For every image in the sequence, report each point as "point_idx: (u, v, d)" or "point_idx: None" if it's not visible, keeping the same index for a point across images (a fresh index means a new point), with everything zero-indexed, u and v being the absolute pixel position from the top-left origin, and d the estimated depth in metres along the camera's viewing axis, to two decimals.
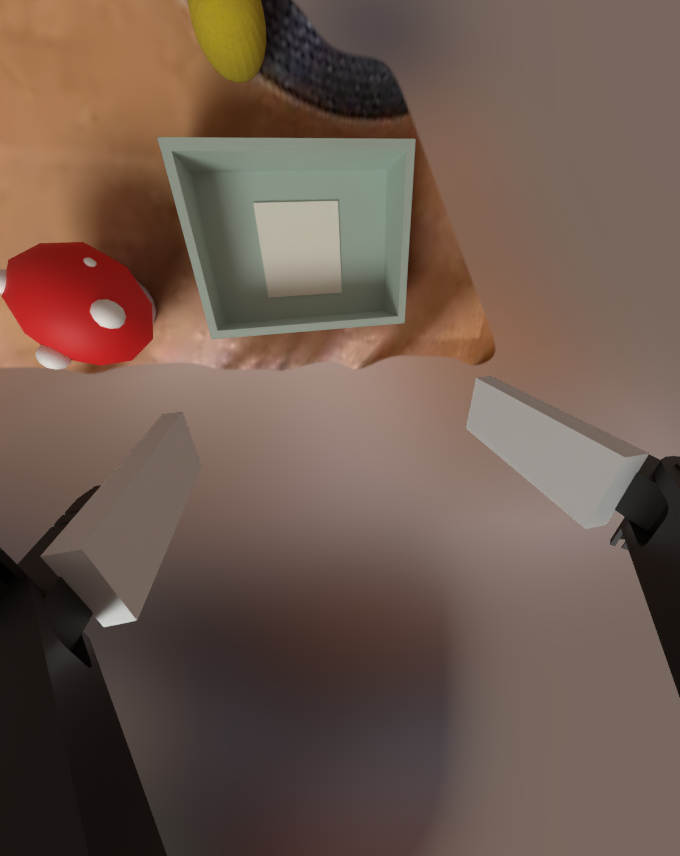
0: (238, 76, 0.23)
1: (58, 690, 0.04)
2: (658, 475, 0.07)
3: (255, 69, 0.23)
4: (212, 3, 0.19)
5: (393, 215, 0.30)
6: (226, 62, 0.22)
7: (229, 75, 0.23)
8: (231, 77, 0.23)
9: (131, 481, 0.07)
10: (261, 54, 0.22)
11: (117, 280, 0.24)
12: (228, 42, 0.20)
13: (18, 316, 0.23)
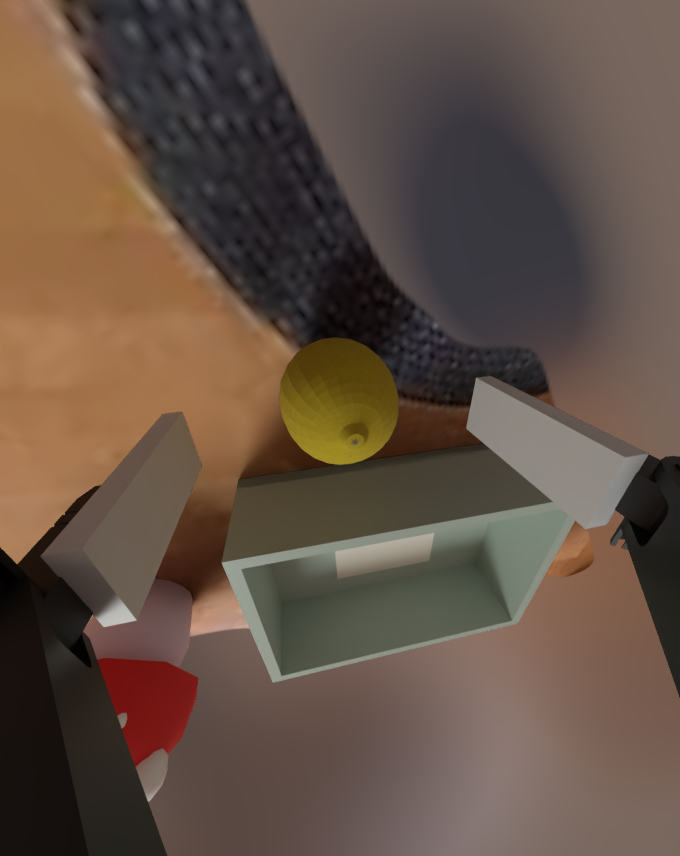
0: None
1: (58, 690, 0.04)
2: (658, 475, 0.07)
3: None
4: (333, 454, 0.11)
5: (519, 517, 0.22)
6: None
7: None
8: None
9: (131, 481, 0.07)
10: None
11: (156, 713, 0.17)
12: None
13: None
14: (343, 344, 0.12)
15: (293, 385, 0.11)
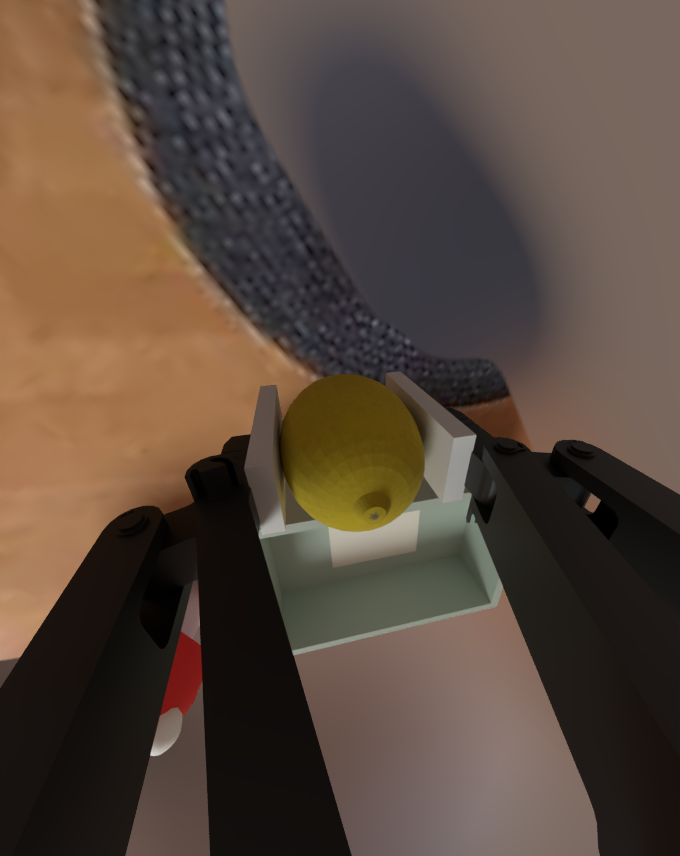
0: None
1: None
2: (482, 453, 0.08)
3: None
4: (346, 525, 0.09)
5: None
6: None
7: None
8: None
9: (273, 428, 0.10)
10: None
11: (173, 674, 0.19)
12: None
13: None
14: (357, 385, 0.10)
15: (296, 438, 0.09)
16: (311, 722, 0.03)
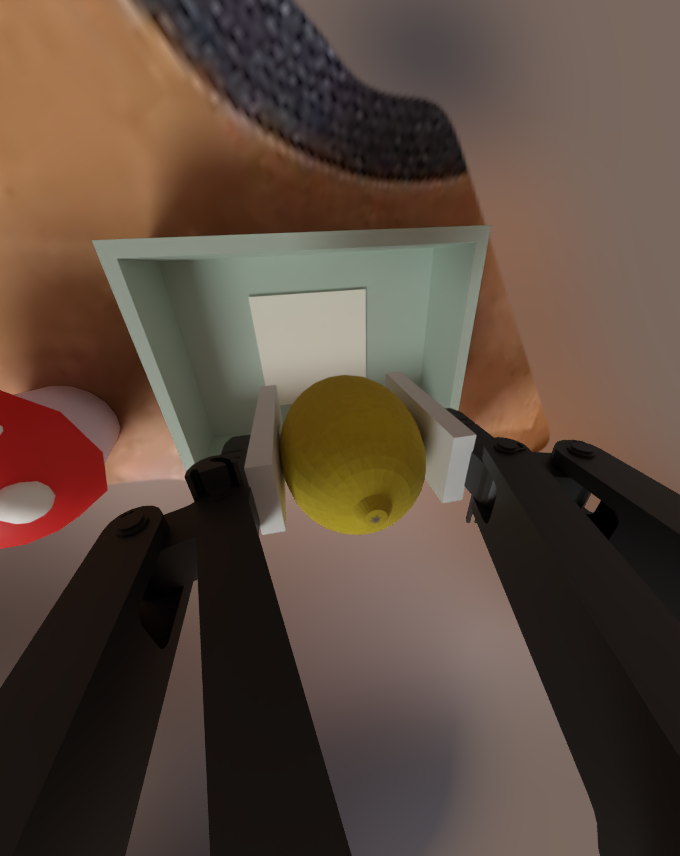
0: None
1: None
2: (481, 453, 0.08)
3: None
4: (347, 528, 0.09)
5: (442, 311, 0.21)
6: None
7: None
8: None
9: (273, 428, 0.10)
10: None
11: (40, 444, 0.16)
12: None
13: None
14: (357, 386, 0.10)
15: (296, 440, 0.09)
16: (311, 722, 0.03)
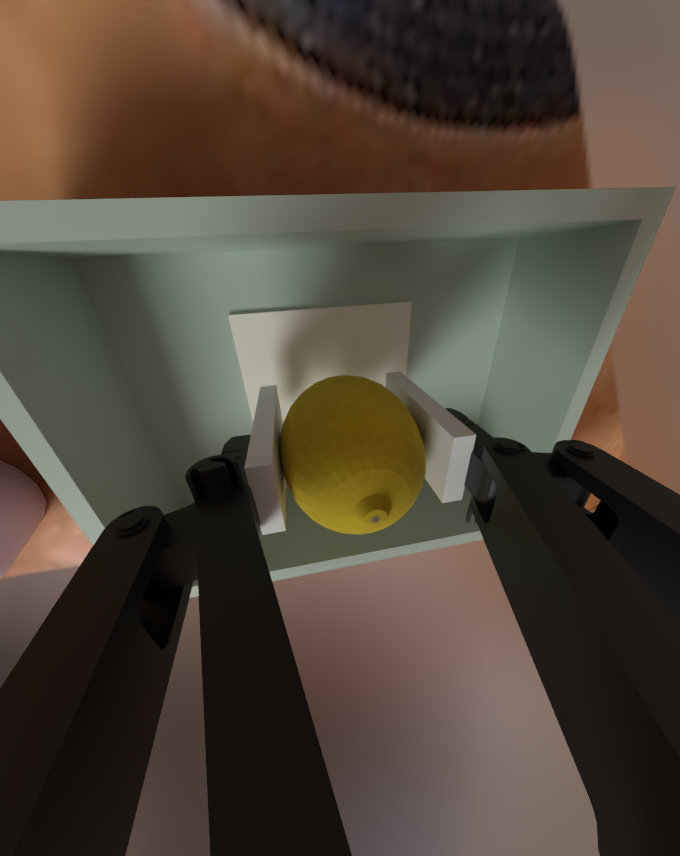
0: None
1: (268, 569, 0.05)
2: (481, 453, 0.08)
3: None
4: (347, 528, 0.09)
5: (534, 336, 0.14)
6: None
7: None
8: None
9: (273, 428, 0.10)
10: None
11: None
12: None
13: None
14: (357, 387, 0.10)
15: (295, 440, 0.09)
16: (311, 722, 0.03)
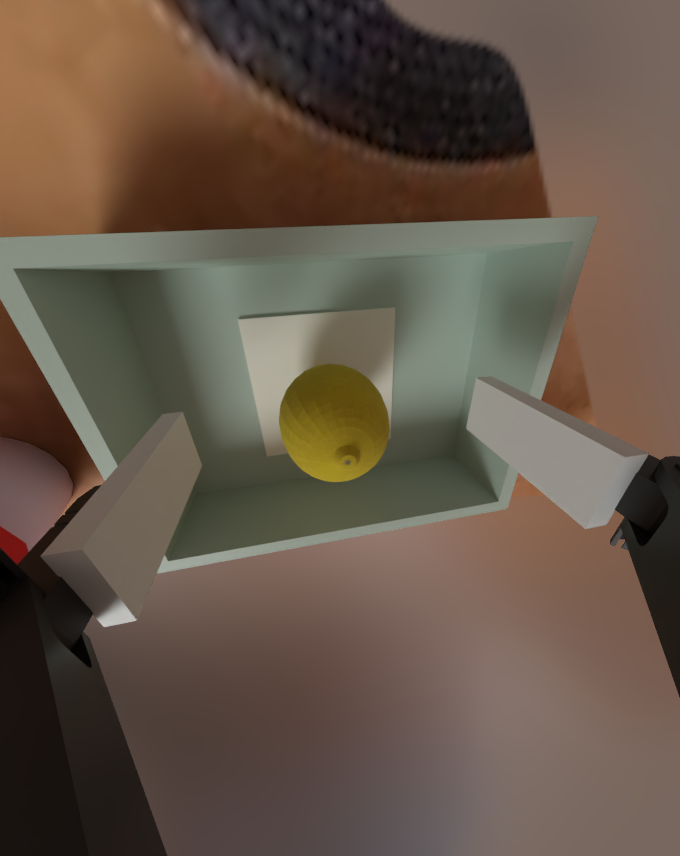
0: None
1: (58, 690, 0.04)
2: (658, 475, 0.07)
3: None
4: (329, 473, 0.12)
5: (500, 336, 0.16)
6: None
7: None
8: None
9: (131, 481, 0.07)
10: None
11: None
12: None
13: None
14: (336, 371, 0.13)
15: (290, 410, 0.12)
16: None
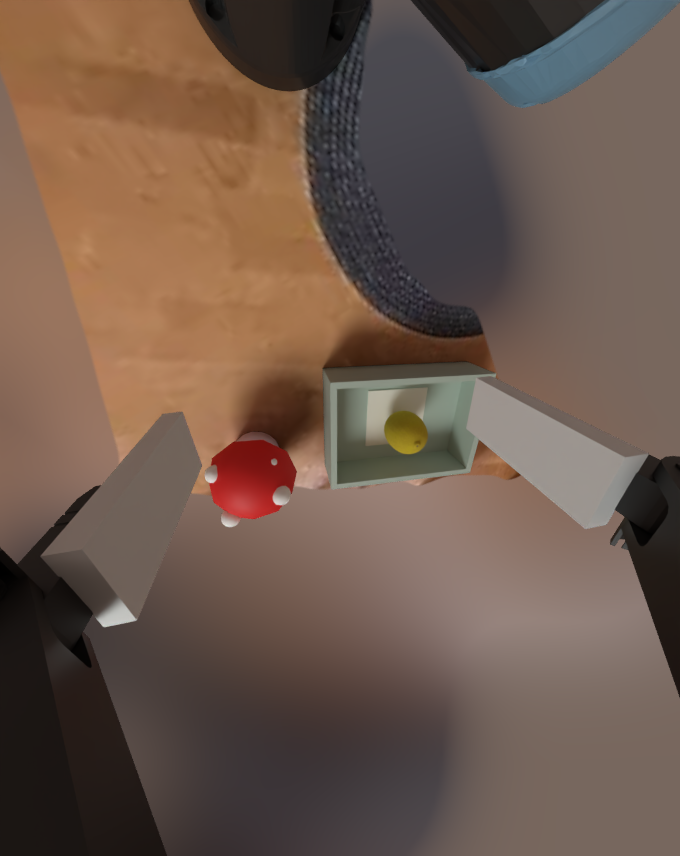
0: None
1: (58, 690, 0.04)
2: (658, 475, 0.07)
3: None
4: (409, 450, 0.36)
5: (468, 402, 0.40)
6: None
7: None
8: None
9: (131, 481, 0.07)
10: None
11: (286, 468, 0.34)
12: None
13: (223, 501, 0.32)
14: (410, 415, 0.37)
15: (396, 428, 0.36)
16: None
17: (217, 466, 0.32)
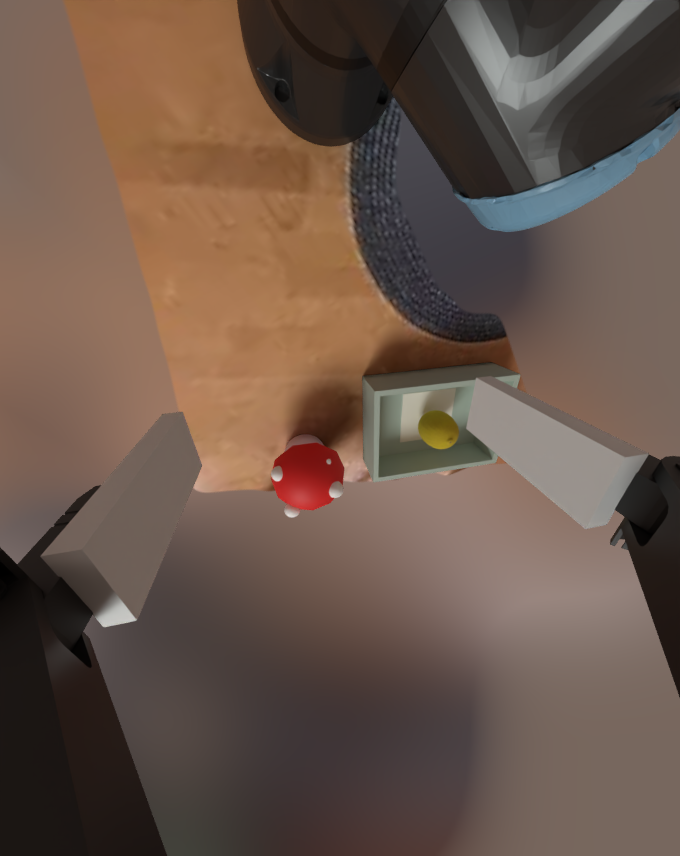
0: None
1: (58, 690, 0.04)
2: (658, 475, 0.07)
3: None
4: (443, 445, 0.41)
5: None
6: None
7: None
8: None
9: (131, 481, 0.07)
10: None
11: (338, 466, 0.39)
12: None
13: (288, 496, 0.37)
14: (442, 414, 0.42)
15: (431, 427, 0.41)
16: None
17: (281, 467, 0.37)
